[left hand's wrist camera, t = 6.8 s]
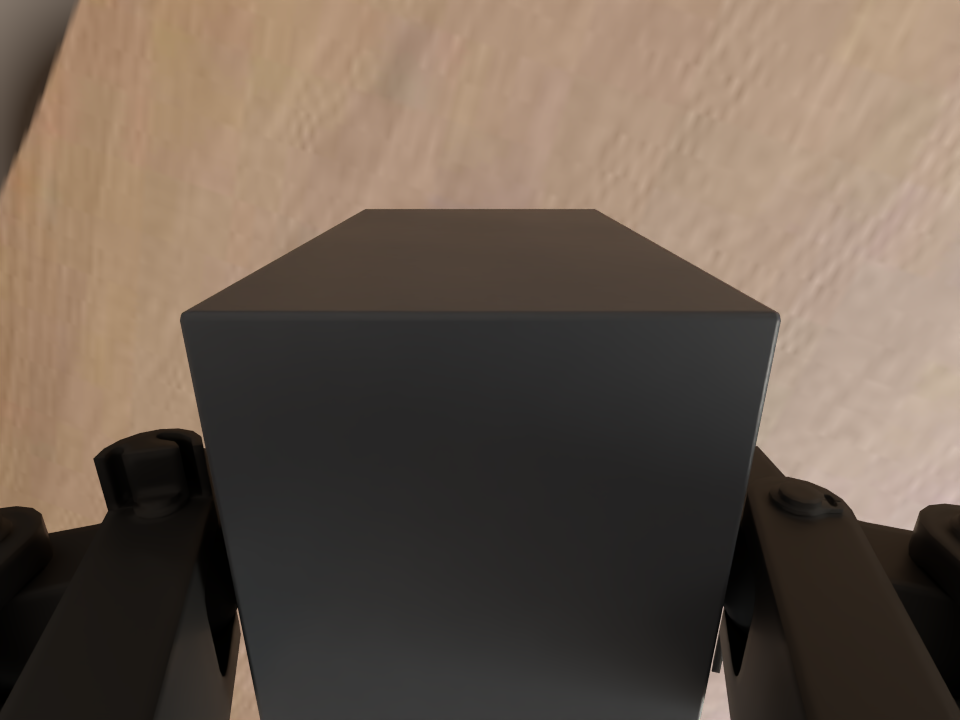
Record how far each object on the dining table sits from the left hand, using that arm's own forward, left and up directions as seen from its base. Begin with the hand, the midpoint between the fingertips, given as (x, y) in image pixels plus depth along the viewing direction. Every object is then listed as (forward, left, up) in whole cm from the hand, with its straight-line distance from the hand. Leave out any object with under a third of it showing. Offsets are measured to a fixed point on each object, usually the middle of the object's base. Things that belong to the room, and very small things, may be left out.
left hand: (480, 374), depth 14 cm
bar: (+5, +5, -1) cm, 8 cm away
